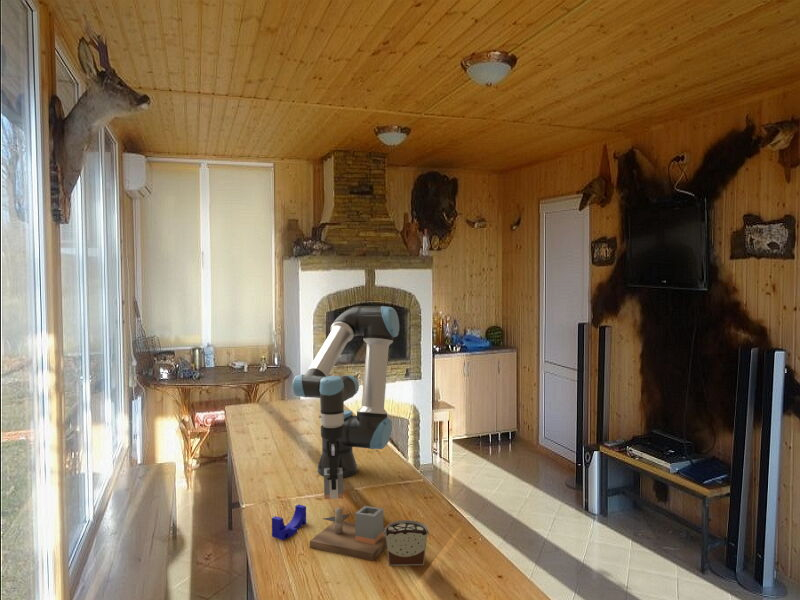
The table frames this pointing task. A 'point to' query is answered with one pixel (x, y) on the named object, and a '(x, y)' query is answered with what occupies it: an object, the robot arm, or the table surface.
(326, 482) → the sleeve
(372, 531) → the seated sleeve
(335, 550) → the pin board
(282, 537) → the cable clip
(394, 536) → the brown grey rounded block
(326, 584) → the table surface
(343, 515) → the mat
